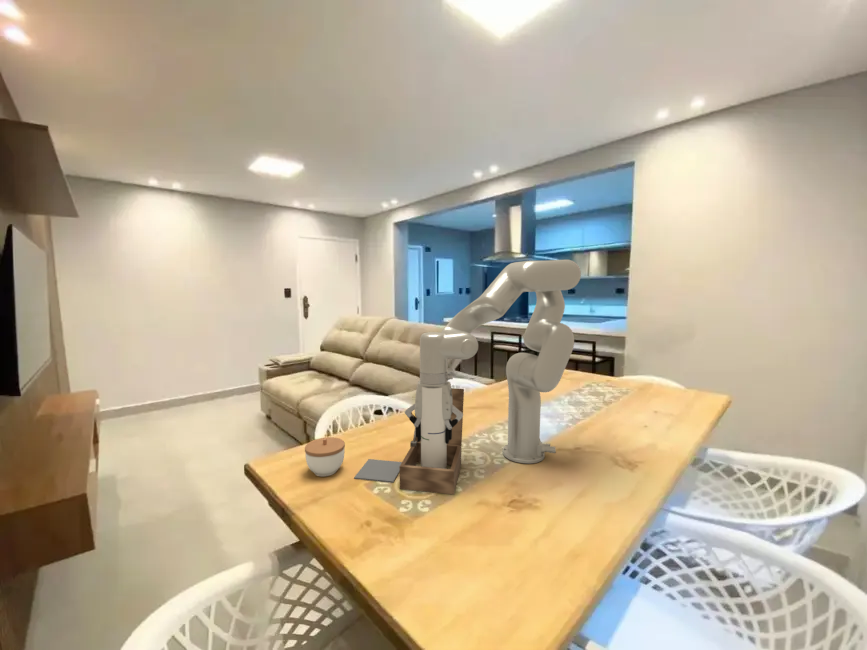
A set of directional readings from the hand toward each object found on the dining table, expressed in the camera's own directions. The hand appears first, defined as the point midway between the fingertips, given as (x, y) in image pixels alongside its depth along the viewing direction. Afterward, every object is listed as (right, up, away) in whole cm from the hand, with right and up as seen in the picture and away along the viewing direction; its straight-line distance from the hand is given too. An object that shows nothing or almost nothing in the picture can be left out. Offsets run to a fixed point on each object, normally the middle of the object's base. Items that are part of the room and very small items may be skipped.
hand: (433, 440), depth 103 cm
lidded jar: (-30, -10, +2) cm, 32 cm away
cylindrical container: (0, -10, +1) cm, 10 cm away
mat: (-15, -9, +2) cm, 18 cm away
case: (0, -9, +2) cm, 9 cm away
